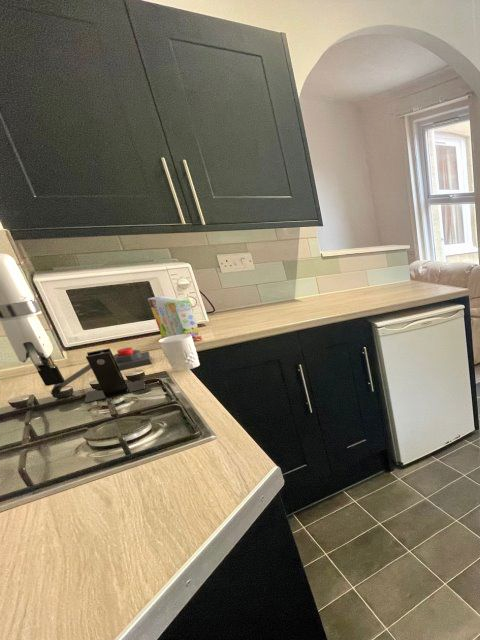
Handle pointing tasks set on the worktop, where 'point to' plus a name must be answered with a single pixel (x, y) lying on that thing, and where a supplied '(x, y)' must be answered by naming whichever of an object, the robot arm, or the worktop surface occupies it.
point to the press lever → (70, 379)
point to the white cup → (180, 352)
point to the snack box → (174, 316)
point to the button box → (133, 360)
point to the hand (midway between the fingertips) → (55, 383)
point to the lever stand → (109, 377)
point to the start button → (125, 351)
